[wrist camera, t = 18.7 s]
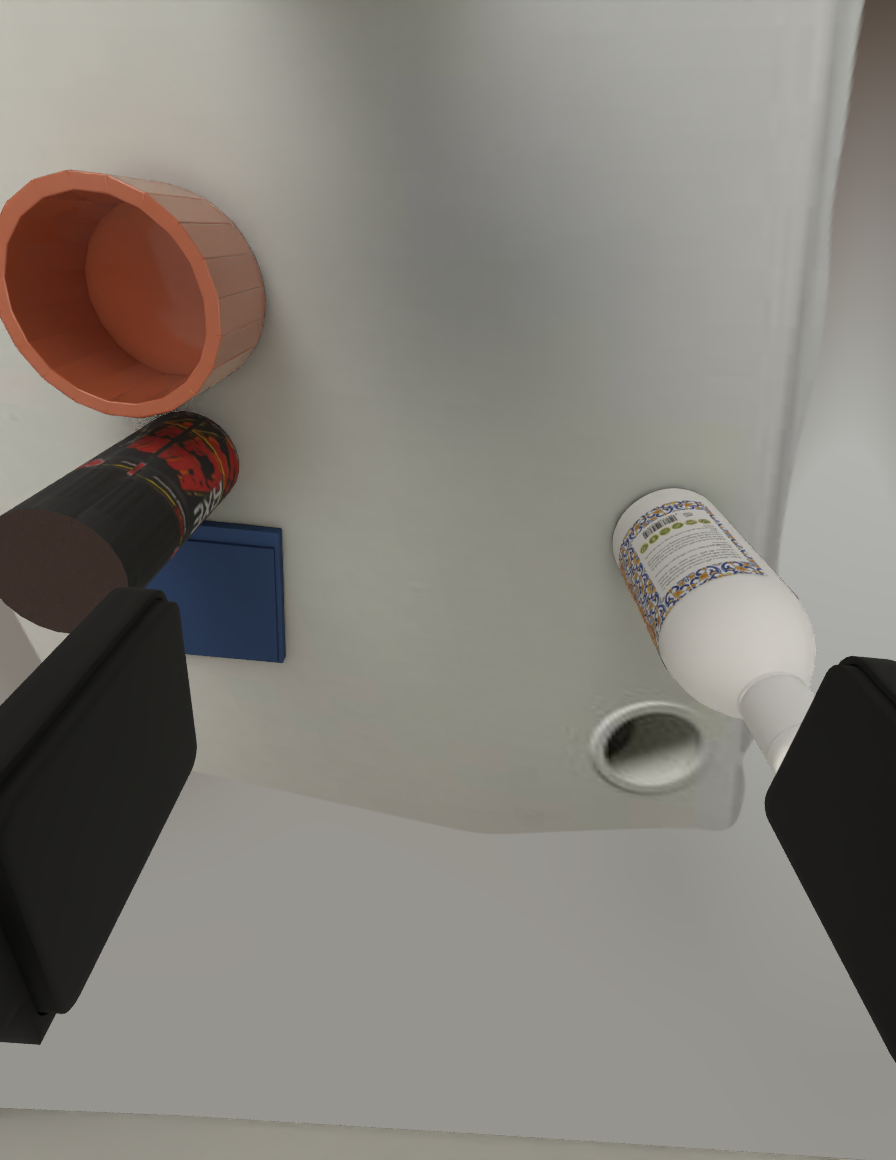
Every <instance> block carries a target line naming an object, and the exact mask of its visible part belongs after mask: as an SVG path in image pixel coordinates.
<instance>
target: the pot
mask: <svg viewBox="0 0 896 1160" xmlns="http://www.w3.org/2000/svg"><path fill="white" fill-rule="evenodd" d="M0 318H1V320H2V322H3V323H4V325H5V327H6V329H7V331H8V333H9V335H10V337H11V339H12V341H13V343H14V345H15V346H16V347H18V348H17V349H18V350H19V351H20V353H21V354H22V355H23V356H24V357H25V358H26V360H27V361H28V362H29V363H30V364H31V365H32V367H33V368H34V369H35V370H36V371H37V372H38V373H39V375H40V376H41V377H42V378H44V380H46V381H47V382H48V383H50V384H51V385H53V386H54V387H55V388H57V389H58V390H59V391H61V392H62V393H64V394H65V395H66V396H68V397H69V398H70V399H72V400H74V401H75V402H77V403H79V404H82V405H84V406H87V407H89V408H92V409H94V410H97V411H99V412H102V413H104V414H108V415H115V416H124V417H134V418H145V417H149V416H154V415H158V414H163V413H167V412H170V411H173V410H175V409H176V408H178V407H179V406H181V405H183V404H184V403H186V402H187V401H189V400H191V399H192V398H194V397H195V396H197V395H198V394H200V393H202V392H203V391H205V390H206V389H208V388H210V387H211V386H213V385H214V384H216V383H218V382H219V381H221V380H222V379H224V378H225V377H227V376H228V375H230V374H231V373H233V372H234V371H236V370H237V369H238V368H239V367H240V366H241V365H243V363H244V362H245V361H246V360H247V359H248V358H249V357H250V355H251V353H252V352H253V350H254V349H255V347H256V345H257V343H258V340H259V338H260V335H261V332H262V328H263V324H264V318H265V292H264V285H263V281H262V276H261V273H260V270H259V267H258V264H257V261H256V259H255V257H254V254H253V252H252V250H251V248H250V247H249V245H248V243H247V242H246V240H245V238H244V237H243V235H242V234H241V233H240V231H239V230H238V229H237V227H236V226H235V225H234V224H233V222H232V221H231V220H230V219H229V218H228V217H227V216H226V215H225V214H224V213H223V212H221V211H220V210H219V209H218V208H217V207H216V206H214V205H213V204H212V203H210V202H209V201H207V200H206V199H204V198H203V197H201V196H199V195H197V194H195V193H193V192H191V191H189V190H186V189H183V188H180V187H177V186H174V185H171V184H166V183H160V182H154V181H147V180H141V179H135V178H128V177H122V176H115V175H109V174H102V173H93V172H85V171H76V170H64V171H61V172H57V173H53V174H50V175H46V176H43V177H39V178H35V179H34V180H31V181H30V182H29V183H28V184H26V185H25V186H24V187H23V188H22V189H21V190H19V191H18V192H17V193H16V194H15V195H14V196H12V197H11V198H10V199H9V200H8V201H7V203H5V205H4V207H3V209H2V212H1V214H0Z"/></svg>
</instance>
